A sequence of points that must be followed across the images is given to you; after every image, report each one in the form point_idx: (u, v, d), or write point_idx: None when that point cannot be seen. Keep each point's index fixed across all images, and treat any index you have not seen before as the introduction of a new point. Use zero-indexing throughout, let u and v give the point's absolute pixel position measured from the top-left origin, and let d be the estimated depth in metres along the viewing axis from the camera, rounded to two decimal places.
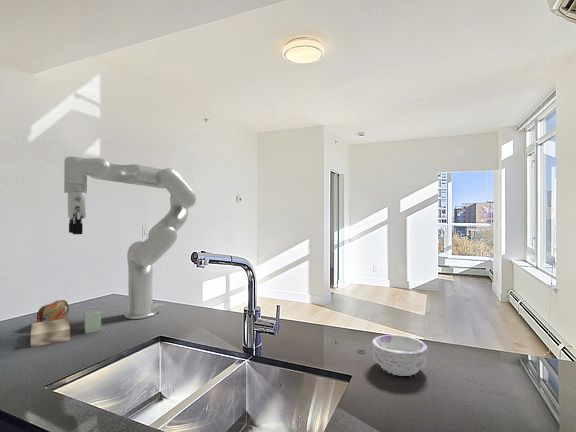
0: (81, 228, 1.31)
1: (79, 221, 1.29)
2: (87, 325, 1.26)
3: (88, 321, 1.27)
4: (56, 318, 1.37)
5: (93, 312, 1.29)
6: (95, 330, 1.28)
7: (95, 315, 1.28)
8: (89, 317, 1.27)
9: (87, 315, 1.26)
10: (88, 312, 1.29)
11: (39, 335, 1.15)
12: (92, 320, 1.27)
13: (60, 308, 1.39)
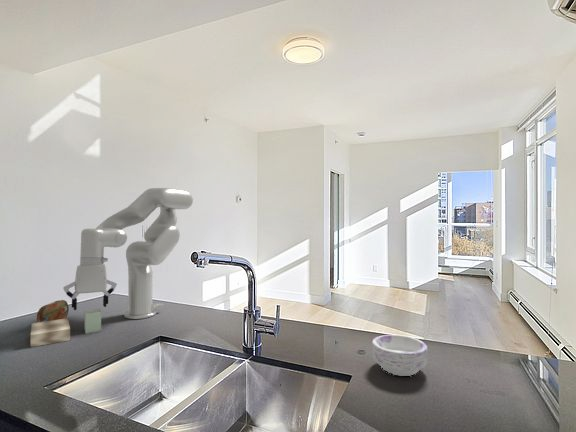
0: None
1: None
2: (87, 325, 1.26)
3: (88, 321, 1.27)
4: (56, 318, 1.37)
5: (93, 312, 1.29)
6: (95, 330, 1.28)
7: (95, 315, 1.28)
8: (89, 317, 1.27)
9: (87, 315, 1.26)
10: (88, 312, 1.29)
11: (39, 335, 1.15)
12: (92, 320, 1.27)
13: (60, 308, 1.39)
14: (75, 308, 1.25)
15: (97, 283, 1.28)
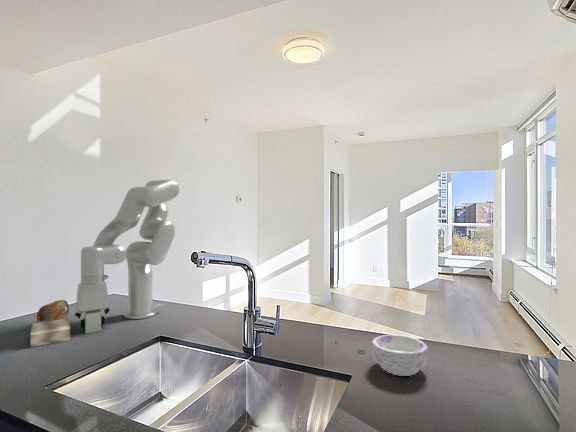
0: None
1: None
2: (87, 325, 1.26)
3: (88, 321, 1.27)
4: (56, 318, 1.37)
5: (93, 312, 1.29)
6: (95, 330, 1.28)
7: (95, 315, 1.28)
8: (89, 317, 1.27)
9: (87, 315, 1.26)
10: (88, 312, 1.29)
11: (39, 335, 1.15)
12: (92, 320, 1.27)
13: (60, 308, 1.39)
14: (84, 328, 1.27)
15: (98, 301, 1.29)
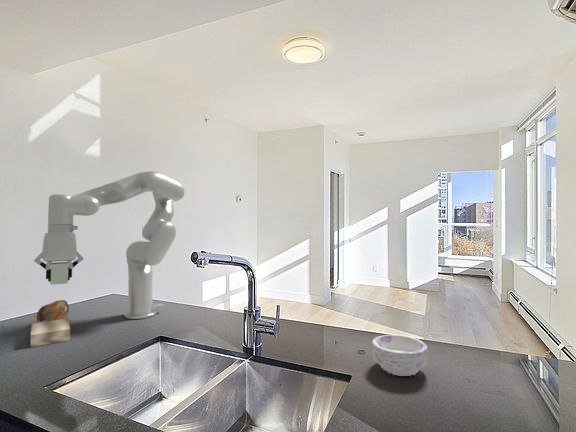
0: None
1: (74, 265, 1.26)
2: (53, 276, 1.20)
3: (54, 272, 1.20)
4: (56, 318, 1.37)
5: (60, 263, 1.22)
6: (61, 282, 1.21)
7: (62, 266, 1.21)
8: (55, 267, 1.20)
9: (53, 265, 1.20)
10: (54, 263, 1.22)
11: (39, 335, 1.15)
12: (58, 271, 1.21)
13: (60, 308, 1.39)
14: (49, 279, 1.20)
15: (66, 251, 1.22)
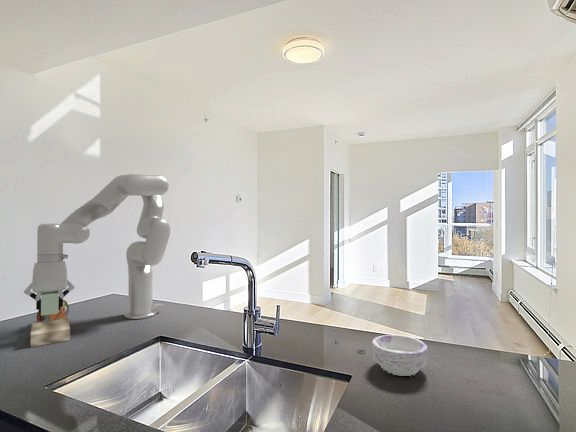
0: None
1: None
2: (43, 306, 1.19)
3: (44, 302, 1.19)
4: (56, 318, 1.37)
5: (50, 293, 1.21)
6: (52, 312, 1.20)
7: (52, 296, 1.20)
8: (45, 298, 1.19)
9: (43, 296, 1.19)
10: (45, 293, 1.21)
11: (39, 335, 1.15)
12: (48, 301, 1.19)
13: None
14: (40, 310, 1.19)
15: (56, 281, 1.21)
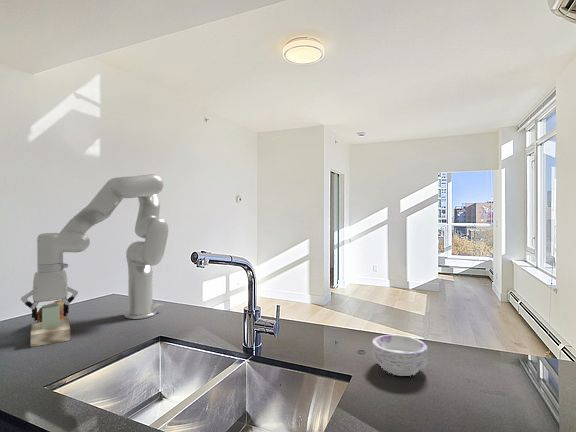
0: None
1: None
2: (44, 320, 1.19)
3: (45, 316, 1.19)
4: None
5: (51, 306, 1.21)
6: (53, 326, 1.20)
7: (53, 310, 1.20)
8: (46, 312, 1.19)
9: (44, 310, 1.19)
10: (46, 306, 1.21)
11: (39, 335, 1.15)
12: (49, 315, 1.20)
13: (60, 308, 1.39)
14: (35, 319, 1.18)
15: (57, 291, 1.21)
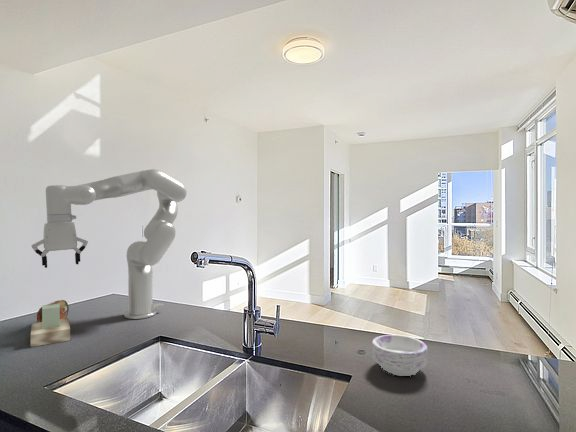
0: None
1: None
2: (44, 320, 1.19)
3: (45, 316, 1.19)
4: None
5: (51, 306, 1.21)
6: (53, 326, 1.20)
7: (53, 310, 1.20)
8: (46, 312, 1.19)
9: (44, 310, 1.19)
10: (46, 306, 1.21)
11: (39, 335, 1.15)
12: (49, 315, 1.20)
13: (60, 308, 1.39)
14: (46, 266, 1.23)
15: (67, 240, 1.26)
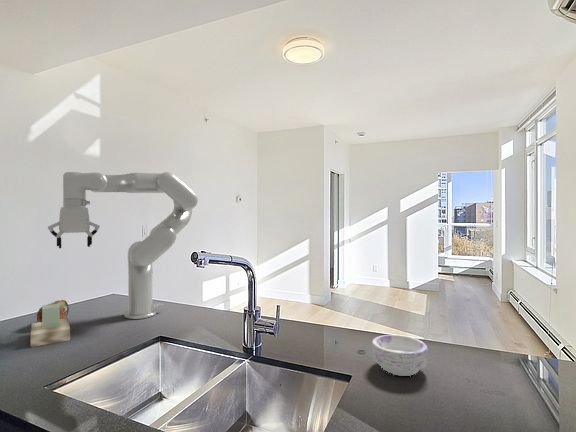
0: None
1: (93, 234, 1.40)
2: (44, 320, 1.19)
3: (45, 316, 1.19)
4: None
5: (51, 306, 1.21)
6: (53, 326, 1.20)
7: (53, 310, 1.20)
8: (46, 312, 1.19)
9: (44, 310, 1.19)
10: (46, 306, 1.21)
11: (39, 335, 1.15)
12: (49, 315, 1.20)
13: (60, 308, 1.39)
14: (60, 246, 1.32)
15: (80, 223, 1.35)
